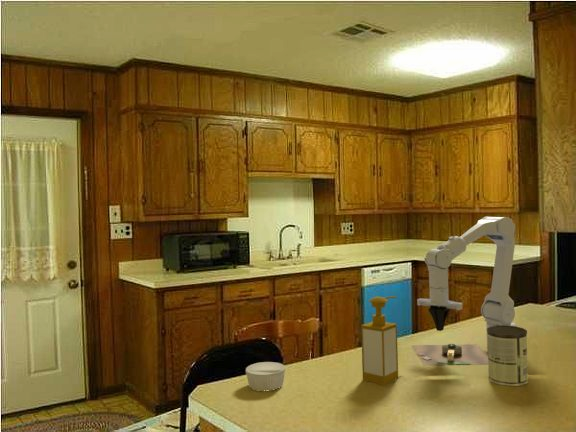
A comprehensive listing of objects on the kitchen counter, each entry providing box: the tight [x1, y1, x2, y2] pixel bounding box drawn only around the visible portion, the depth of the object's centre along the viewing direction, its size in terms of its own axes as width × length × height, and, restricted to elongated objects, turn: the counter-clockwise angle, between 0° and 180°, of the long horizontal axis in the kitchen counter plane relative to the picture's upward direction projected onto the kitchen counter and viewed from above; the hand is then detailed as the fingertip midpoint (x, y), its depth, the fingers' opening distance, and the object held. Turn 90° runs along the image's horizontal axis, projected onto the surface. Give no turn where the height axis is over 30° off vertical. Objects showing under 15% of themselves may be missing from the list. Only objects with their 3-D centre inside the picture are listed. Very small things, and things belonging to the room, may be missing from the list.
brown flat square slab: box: [411, 343, 488, 366], centre depth 171 cm, size 22×22×1 cm
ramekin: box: [245, 361, 286, 392], centre depth 150 cm, size 11×11×5 cm
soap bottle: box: [360, 296, 399, 386], centre depth 155 cm, size 7×13×24 cm, turn 137°
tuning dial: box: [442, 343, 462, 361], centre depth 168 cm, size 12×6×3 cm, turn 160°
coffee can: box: [486, 326, 529, 387], centre depth 148 cm, size 10×10×14 cm
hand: (440, 330), depth 169 cm, fingers closed
